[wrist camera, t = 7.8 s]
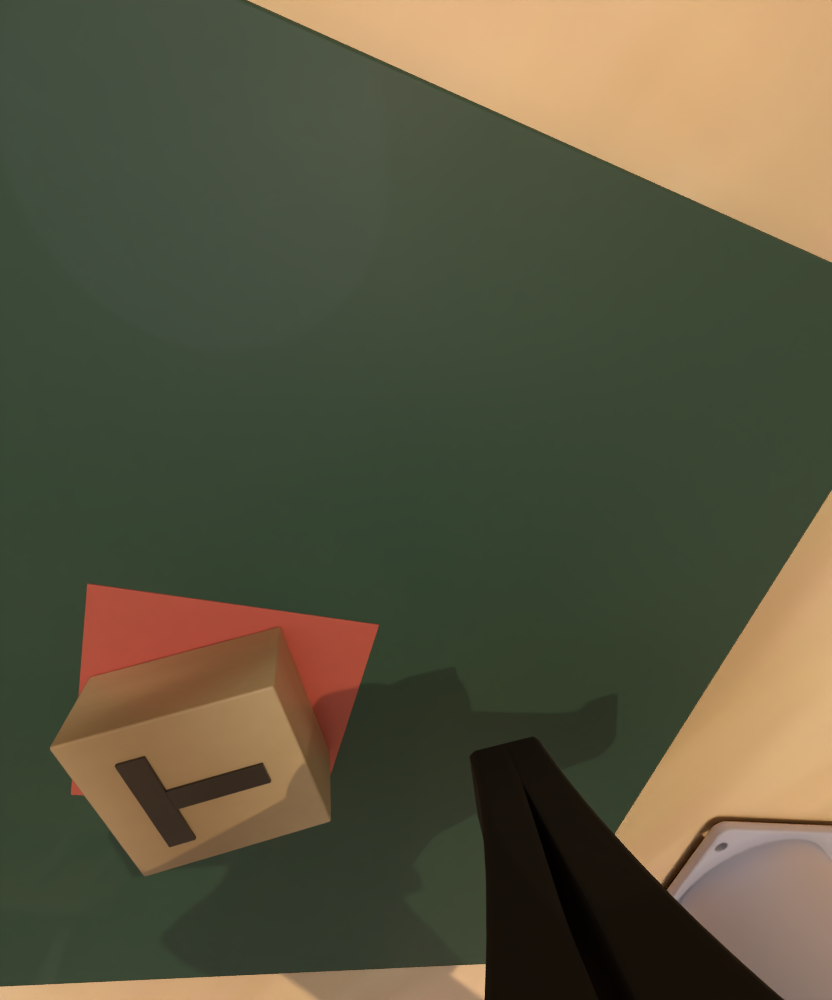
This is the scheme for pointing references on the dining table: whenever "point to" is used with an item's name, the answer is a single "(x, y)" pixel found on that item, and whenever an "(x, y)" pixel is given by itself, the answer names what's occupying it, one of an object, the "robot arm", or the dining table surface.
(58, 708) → the game board
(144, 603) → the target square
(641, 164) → the dining table surface
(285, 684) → the letter tile
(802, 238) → the dining table surface
